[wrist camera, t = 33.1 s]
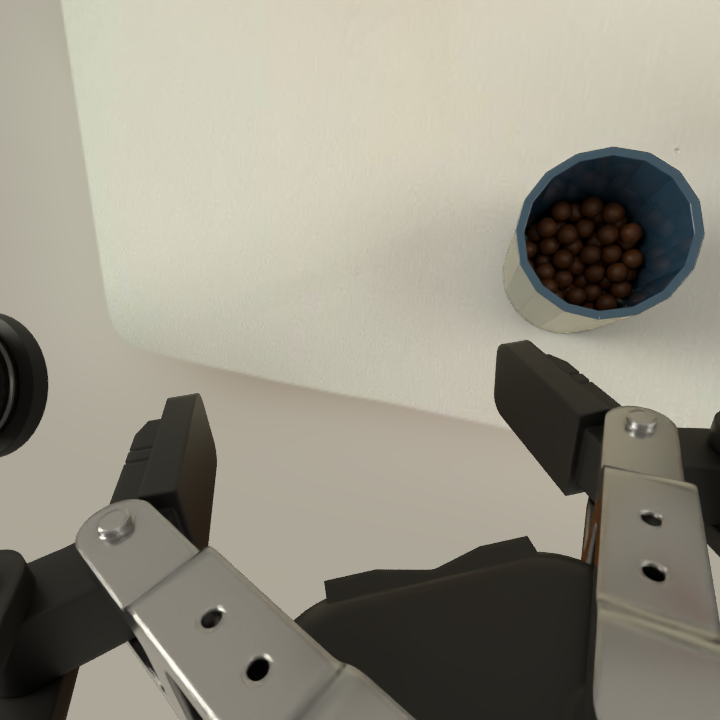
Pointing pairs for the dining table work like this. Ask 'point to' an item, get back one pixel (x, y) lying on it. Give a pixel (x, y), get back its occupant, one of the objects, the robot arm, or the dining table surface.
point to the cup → (643, 206)
